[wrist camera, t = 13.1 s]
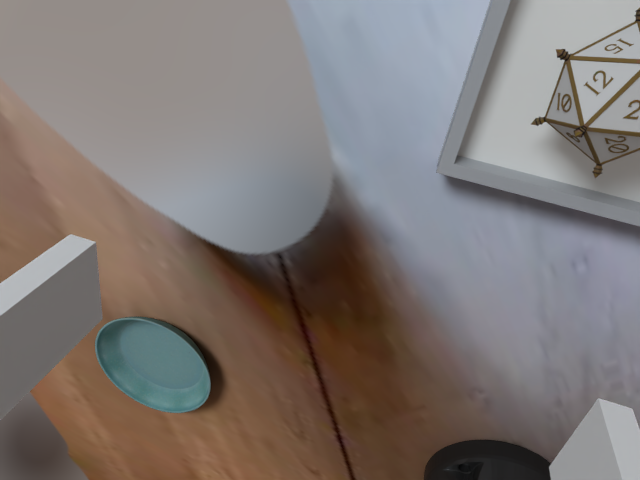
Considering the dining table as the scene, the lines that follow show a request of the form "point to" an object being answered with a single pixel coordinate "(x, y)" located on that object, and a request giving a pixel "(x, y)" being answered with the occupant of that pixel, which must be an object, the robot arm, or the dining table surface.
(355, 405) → the dining table surface
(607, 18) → the tray
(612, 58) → the game die
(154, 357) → the saucer
